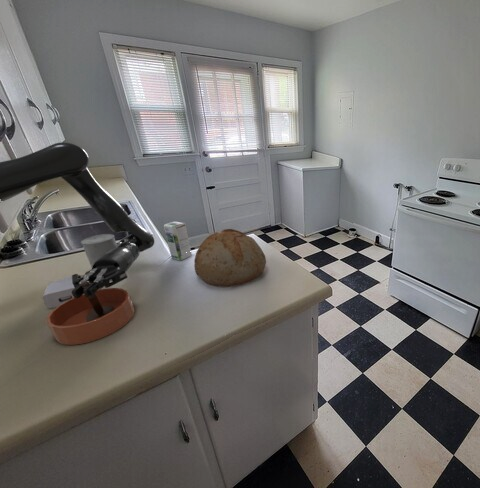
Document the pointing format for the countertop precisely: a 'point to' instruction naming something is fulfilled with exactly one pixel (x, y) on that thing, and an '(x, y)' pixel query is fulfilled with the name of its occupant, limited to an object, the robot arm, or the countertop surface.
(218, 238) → the bread
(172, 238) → the syrup box
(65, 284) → the white drawer box
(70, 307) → the bowl
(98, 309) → the paper towel holder
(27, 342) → the countertop surface
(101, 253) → the white cylinder
